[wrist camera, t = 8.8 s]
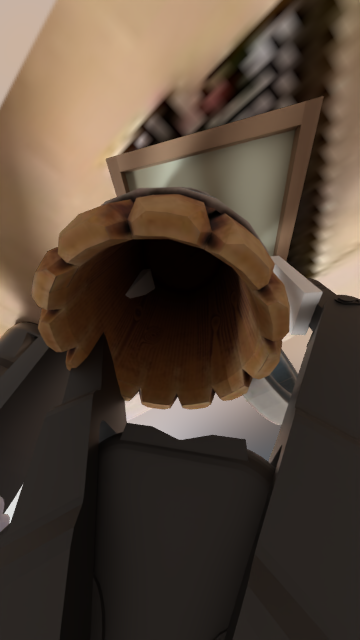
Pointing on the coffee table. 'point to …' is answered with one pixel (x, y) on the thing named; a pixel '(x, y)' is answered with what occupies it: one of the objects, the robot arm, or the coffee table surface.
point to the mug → (171, 301)
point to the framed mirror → (236, 168)
